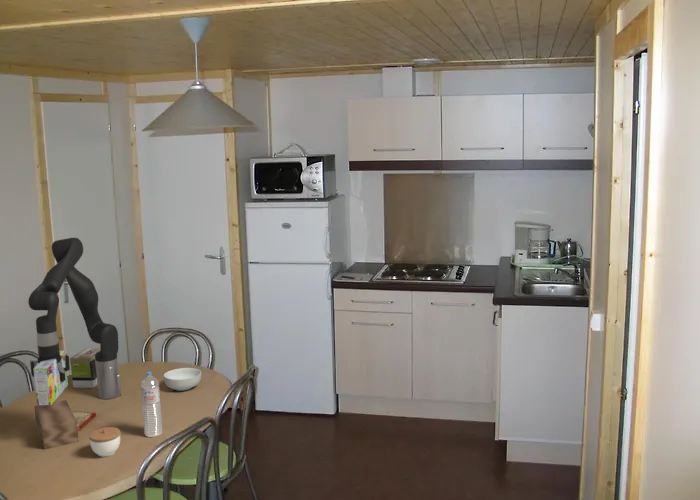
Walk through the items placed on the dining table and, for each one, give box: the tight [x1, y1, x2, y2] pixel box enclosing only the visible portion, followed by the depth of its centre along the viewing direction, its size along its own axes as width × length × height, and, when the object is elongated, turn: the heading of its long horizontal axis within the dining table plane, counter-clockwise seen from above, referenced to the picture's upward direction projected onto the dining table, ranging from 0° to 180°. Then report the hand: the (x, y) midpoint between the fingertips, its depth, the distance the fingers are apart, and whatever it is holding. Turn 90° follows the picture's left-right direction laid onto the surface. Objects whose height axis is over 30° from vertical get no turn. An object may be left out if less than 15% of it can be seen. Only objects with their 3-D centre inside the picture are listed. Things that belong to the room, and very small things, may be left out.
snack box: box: [33, 350, 69, 406], centre depth 268 cm, size 21×6×15 cm, turn 6°
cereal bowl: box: [163, 367, 202, 392], centre depth 317 cm, size 17×17×7 cm
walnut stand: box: [34, 399, 80, 450], centre depth 271 cm, size 12×26×8 cm, turn 30°
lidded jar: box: [88, 426, 121, 458], centre depth 253 cm, size 11×11×9 cm
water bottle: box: [140, 371, 163, 438], centre depth 267 cm, size 7×7×25 cm
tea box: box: [69, 347, 100, 389], centre depth 327 cm, size 15×10×15 cm, turn 172°
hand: (52, 383), depth 269 cm, fingers closed on snack box, 7 cm apart
